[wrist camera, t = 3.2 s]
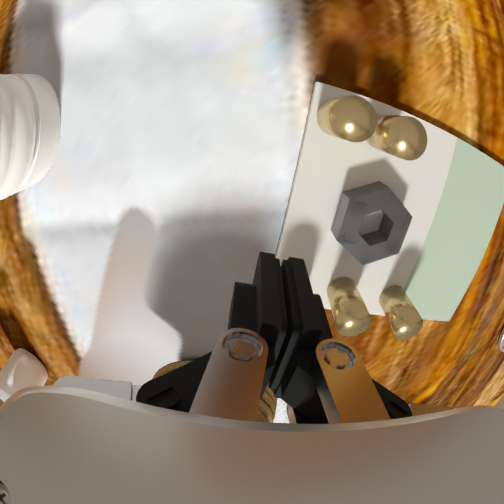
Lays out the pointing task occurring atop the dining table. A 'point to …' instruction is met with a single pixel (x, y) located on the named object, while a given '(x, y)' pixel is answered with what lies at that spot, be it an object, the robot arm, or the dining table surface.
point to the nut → (352, 215)
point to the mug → (21, 373)
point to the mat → (407, 191)
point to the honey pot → (26, 130)
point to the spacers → (395, 143)
